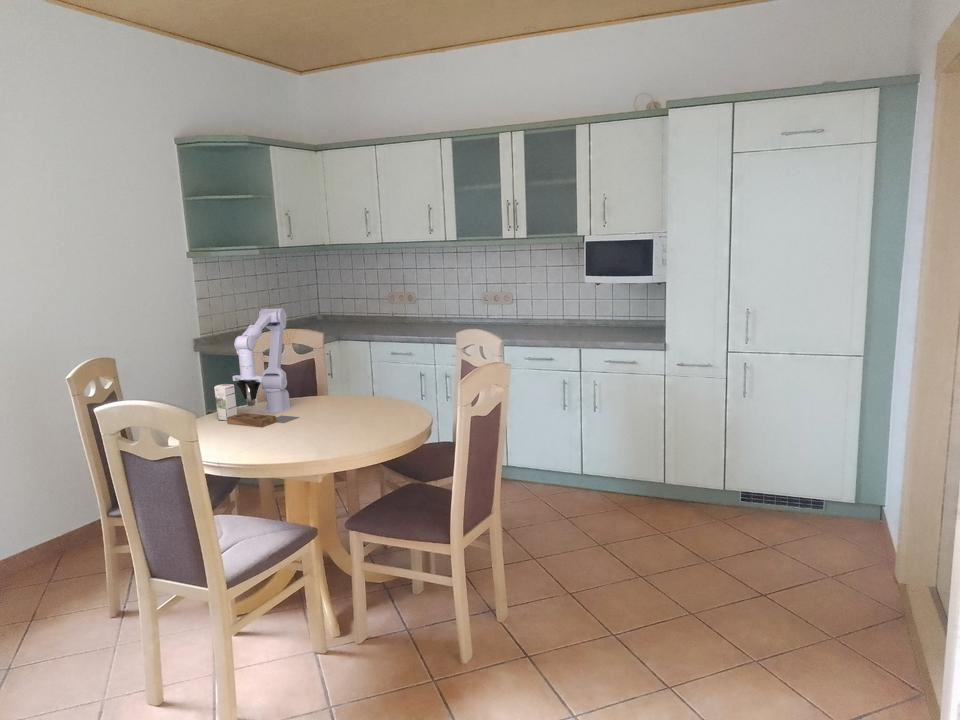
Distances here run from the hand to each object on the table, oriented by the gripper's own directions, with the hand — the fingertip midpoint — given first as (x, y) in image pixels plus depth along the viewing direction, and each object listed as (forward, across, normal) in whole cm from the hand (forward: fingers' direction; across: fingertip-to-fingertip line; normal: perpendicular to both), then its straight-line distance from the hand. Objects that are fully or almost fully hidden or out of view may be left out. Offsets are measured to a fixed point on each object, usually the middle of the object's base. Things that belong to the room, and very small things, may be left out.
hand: (250, 398), depth 281 cm
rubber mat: (+10, +10, +7) cm, 15 cm away
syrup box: (+10, -14, +1) cm, 18 cm away
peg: (+3, 0, 0) cm, 3 cm away
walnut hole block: (+10, +1, -2) cm, 10 cm away
